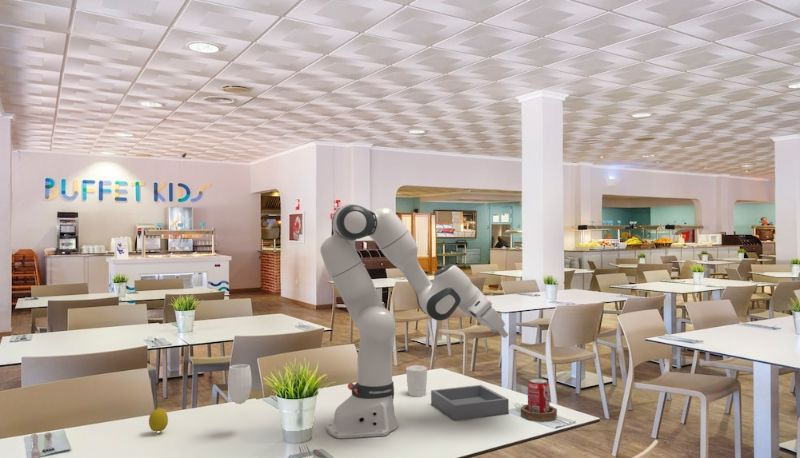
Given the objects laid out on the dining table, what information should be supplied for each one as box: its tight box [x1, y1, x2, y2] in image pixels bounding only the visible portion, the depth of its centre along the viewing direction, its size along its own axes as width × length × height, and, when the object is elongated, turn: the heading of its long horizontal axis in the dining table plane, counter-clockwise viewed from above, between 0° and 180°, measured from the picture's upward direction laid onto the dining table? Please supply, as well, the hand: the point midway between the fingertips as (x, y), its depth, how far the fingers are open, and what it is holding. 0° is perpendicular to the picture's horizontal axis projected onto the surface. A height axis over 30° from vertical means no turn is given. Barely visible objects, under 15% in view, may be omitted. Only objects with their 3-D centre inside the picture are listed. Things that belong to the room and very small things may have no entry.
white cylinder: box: [406, 365, 428, 397], centre depth 229 cm, size 8×8×10 cm
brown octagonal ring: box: [520, 404, 558, 423], centre depth 201 cm, size 11×11×2 cm
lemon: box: [148, 407, 169, 432], centre depth 188 cm, size 6×6×8 cm
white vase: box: [227, 363, 253, 405], centre depth 188 cm, size 7×7×21 cm
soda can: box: [527, 377, 551, 413], centre depth 201 cm, size 7×7×12 cm
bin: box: [430, 384, 510, 421], centre depth 210 cm, size 20×20×5 cm
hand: (500, 333), depth 201 cm, fingers open, 8 cm apart
